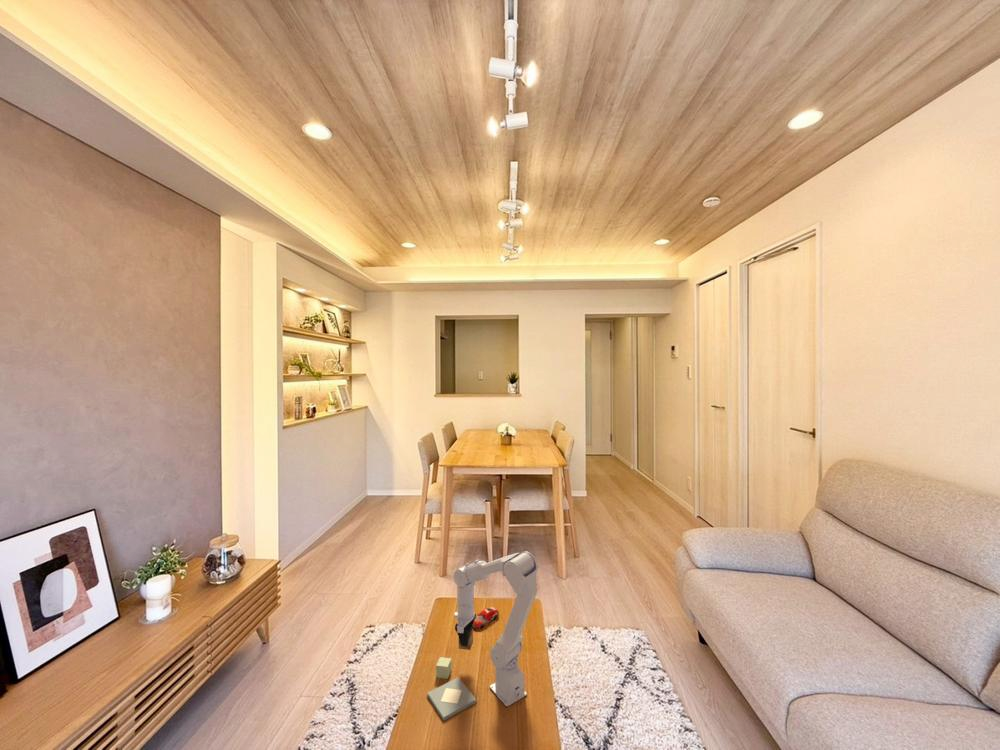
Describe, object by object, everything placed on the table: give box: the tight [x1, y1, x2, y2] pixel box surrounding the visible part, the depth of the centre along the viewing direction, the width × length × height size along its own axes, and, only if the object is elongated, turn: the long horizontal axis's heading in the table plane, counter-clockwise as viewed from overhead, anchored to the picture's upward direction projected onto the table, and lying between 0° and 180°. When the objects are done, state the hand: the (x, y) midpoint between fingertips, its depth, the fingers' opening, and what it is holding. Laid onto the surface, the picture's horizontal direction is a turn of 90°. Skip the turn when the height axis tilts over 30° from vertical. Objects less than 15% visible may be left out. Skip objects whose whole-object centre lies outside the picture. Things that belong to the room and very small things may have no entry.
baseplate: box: [426, 677, 477, 721], centre depth 121 cm, size 11×11×1 cm
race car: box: [472, 606, 500, 630], centre depth 161 cm, size 13×5×4 cm, turn 136°
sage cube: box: [435, 656, 452, 680], centre depth 132 cm, size 4×4×4 cm
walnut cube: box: [458, 630, 474, 651], centre depth 136 cm, size 4×4×4 cm
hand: (465, 641), depth 136 cm, fingers closed on walnut cube, 4 cm apart
